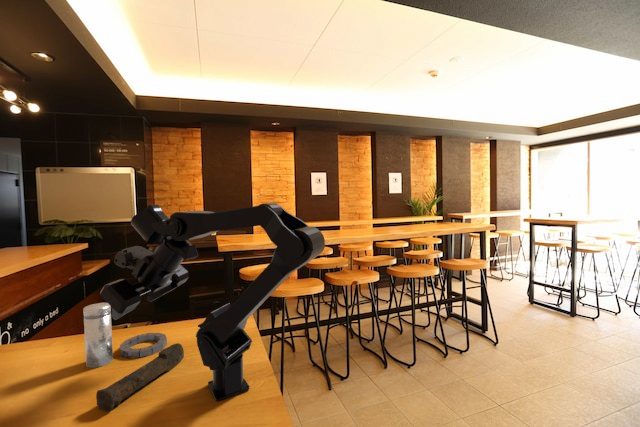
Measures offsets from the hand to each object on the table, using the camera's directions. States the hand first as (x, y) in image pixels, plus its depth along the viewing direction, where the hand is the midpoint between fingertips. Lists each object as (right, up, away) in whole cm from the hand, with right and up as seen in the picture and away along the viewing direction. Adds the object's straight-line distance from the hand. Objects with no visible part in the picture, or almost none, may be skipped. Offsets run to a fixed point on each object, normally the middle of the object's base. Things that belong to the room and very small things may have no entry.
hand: (132, 309), depth 69 cm
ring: (-2, -12, +9) cm, 15 cm away
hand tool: (+6, -14, -5) cm, 16 cm away
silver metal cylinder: (-9, -13, +2) cm, 16 cm away
